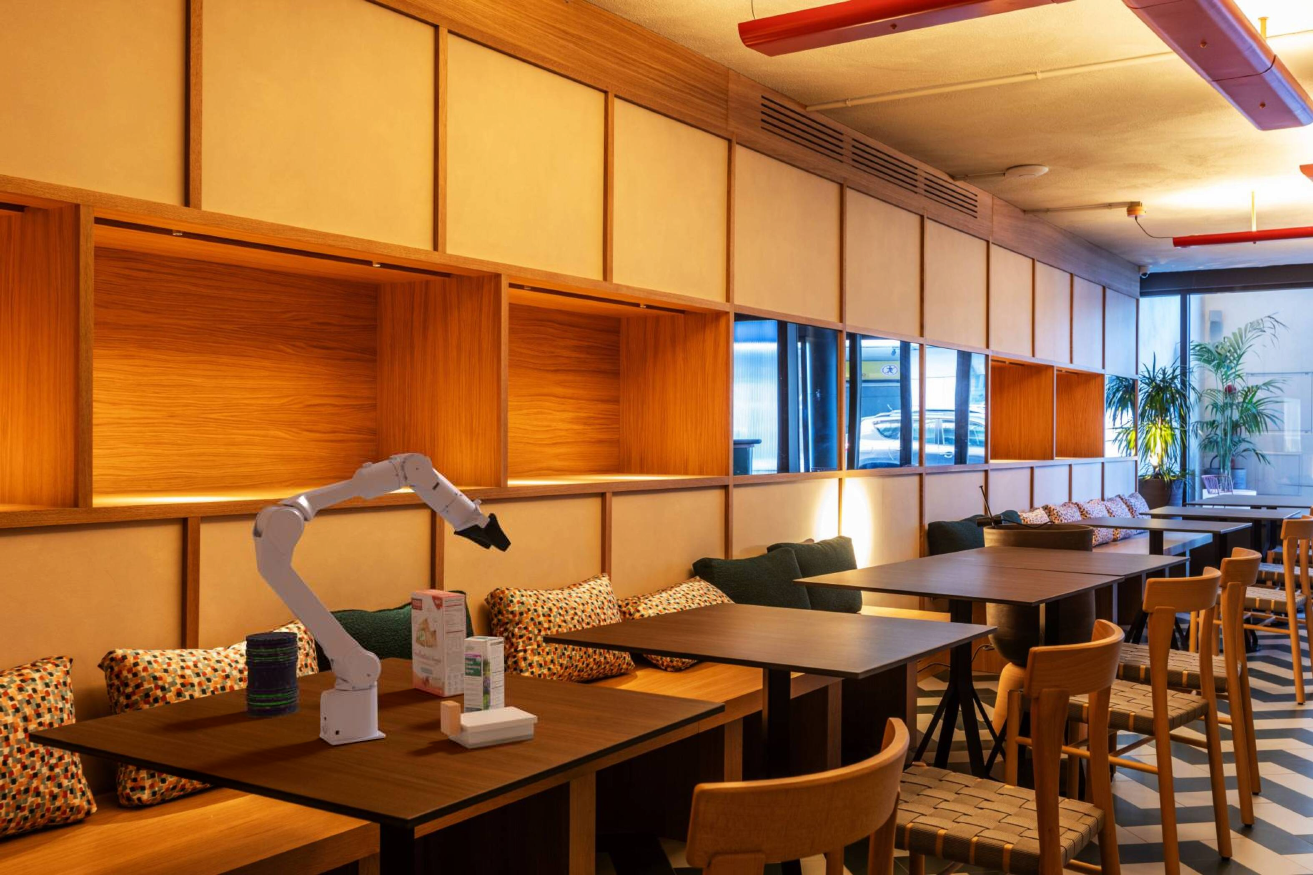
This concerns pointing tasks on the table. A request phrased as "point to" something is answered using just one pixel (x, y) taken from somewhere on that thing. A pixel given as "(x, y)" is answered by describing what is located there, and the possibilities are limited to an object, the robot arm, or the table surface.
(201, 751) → the table surface
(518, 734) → the tub
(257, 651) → the storage jar
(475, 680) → the syrup box
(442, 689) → the cracker box
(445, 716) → the lid
